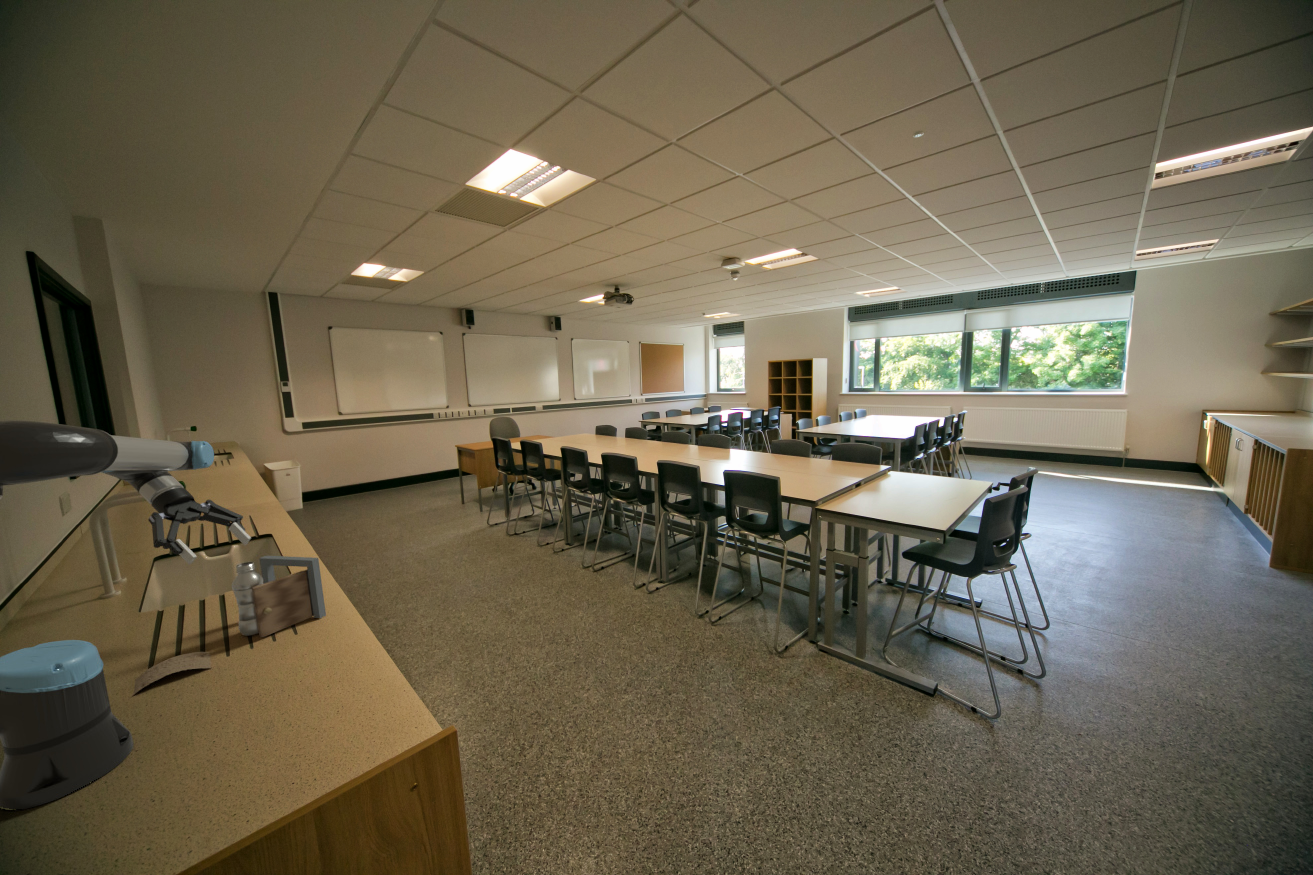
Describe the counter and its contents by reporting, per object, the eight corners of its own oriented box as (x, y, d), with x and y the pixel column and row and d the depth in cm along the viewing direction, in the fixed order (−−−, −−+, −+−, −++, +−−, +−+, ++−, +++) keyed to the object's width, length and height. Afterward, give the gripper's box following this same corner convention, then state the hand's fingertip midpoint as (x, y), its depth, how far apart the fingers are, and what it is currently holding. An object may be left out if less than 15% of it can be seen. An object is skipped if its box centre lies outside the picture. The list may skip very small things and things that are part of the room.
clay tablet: (129, 700, 101) (127, 689, 101) (129, 681, 108) (127, 670, 107) (218, 668, 112) (216, 658, 111) (214, 652, 118) (212, 643, 118)
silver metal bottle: (259, 637, 124) (248, 568, 121) (233, 639, 123) (221, 569, 120) (277, 625, 130) (267, 558, 127) (252, 626, 130) (241, 560, 127)
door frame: (320, 618, 133) (312, 560, 130) (268, 615, 136) (259, 558, 133) (326, 615, 135) (318, 557, 132) (274, 611, 138) (266, 555, 135)
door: (313, 613, 135) (307, 568, 133) (318, 615, 133) (312, 570, 132) (259, 636, 123) (251, 587, 121) (263, 638, 122) (256, 589, 120)
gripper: (212, 493, 137) (261, 542, 137) (100, 519, 113) (159, 579, 113) (224, 476, 136) (273, 526, 135) (113, 499, 111) (173, 559, 111)
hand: (221, 550), depth 124 cm, fingers open, 13 cm apart
